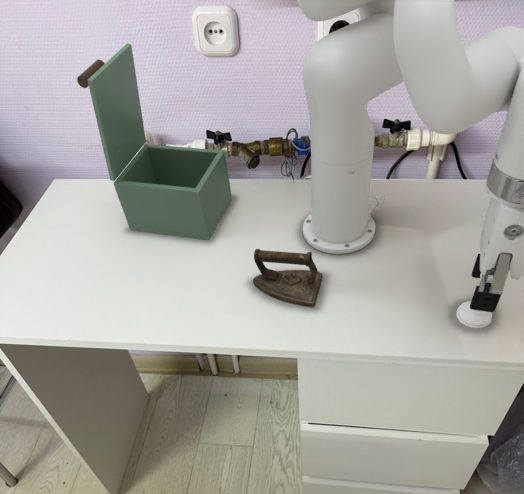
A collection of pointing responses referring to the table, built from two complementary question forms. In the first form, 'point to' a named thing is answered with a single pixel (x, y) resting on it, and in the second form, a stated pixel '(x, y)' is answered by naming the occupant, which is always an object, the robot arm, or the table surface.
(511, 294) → the table surface
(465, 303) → the chess piece
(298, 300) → the clothes iron
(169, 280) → the table surface
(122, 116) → the bin lid
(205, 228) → the bin
